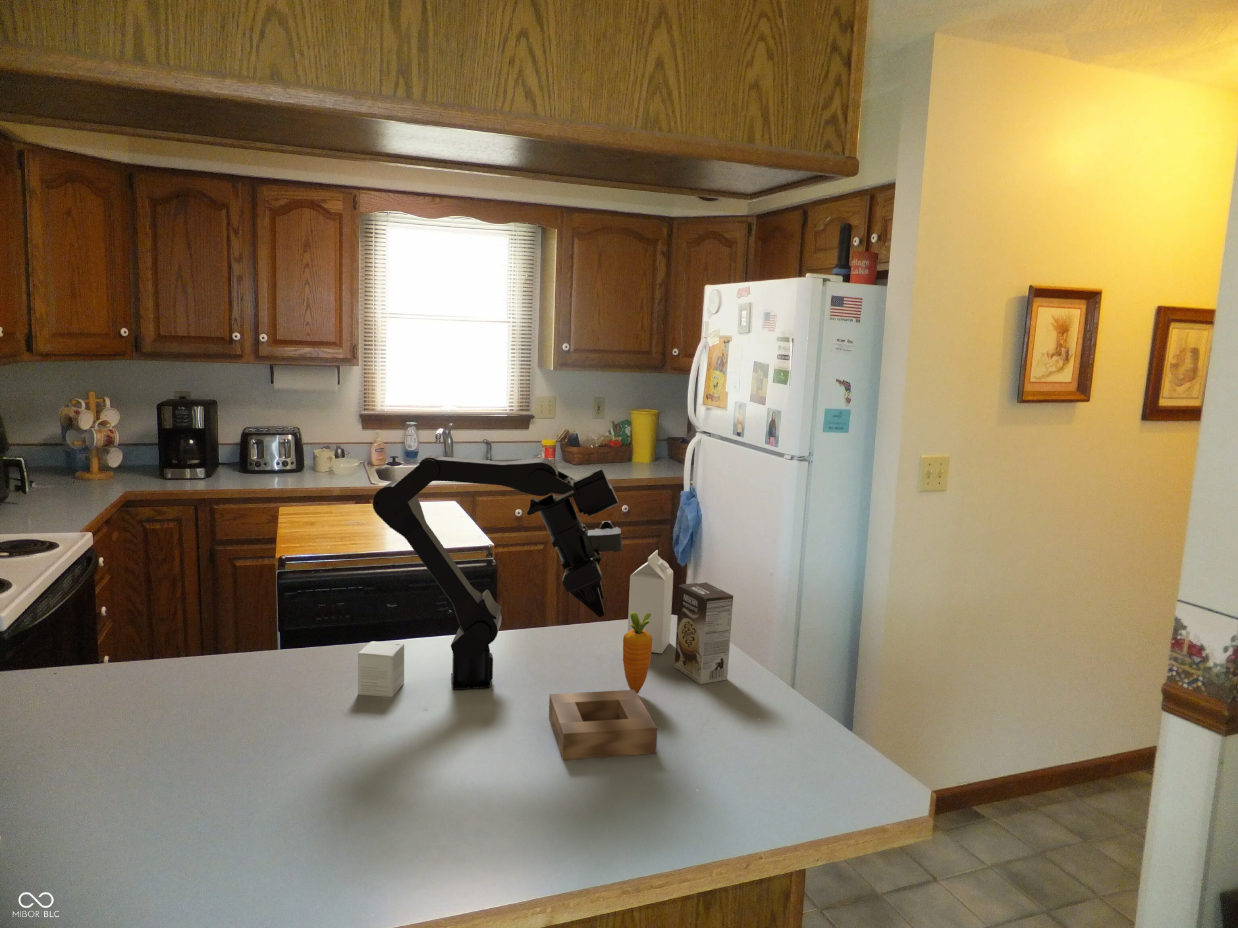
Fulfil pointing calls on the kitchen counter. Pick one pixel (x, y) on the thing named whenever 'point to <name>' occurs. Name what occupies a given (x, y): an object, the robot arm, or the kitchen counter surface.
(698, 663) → the coffee box
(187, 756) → the kitchen counter surface
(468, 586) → the robot arm
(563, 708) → the walnut socket block
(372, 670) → the product box
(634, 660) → the carrot
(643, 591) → the milk carton
